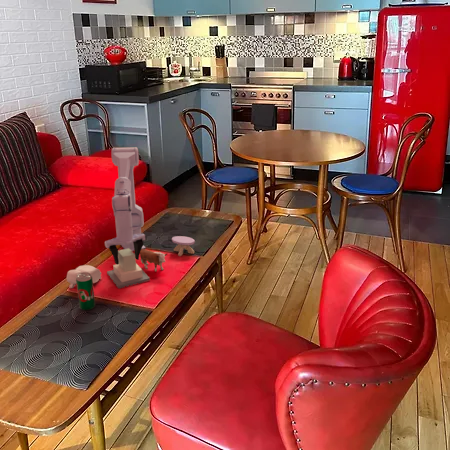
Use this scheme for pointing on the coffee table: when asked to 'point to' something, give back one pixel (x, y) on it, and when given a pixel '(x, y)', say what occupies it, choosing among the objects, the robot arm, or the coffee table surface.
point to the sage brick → (127, 260)
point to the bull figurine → (152, 258)
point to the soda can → (85, 291)
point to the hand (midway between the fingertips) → (127, 261)
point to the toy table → (183, 244)
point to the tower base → (118, 283)
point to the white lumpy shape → (85, 268)
